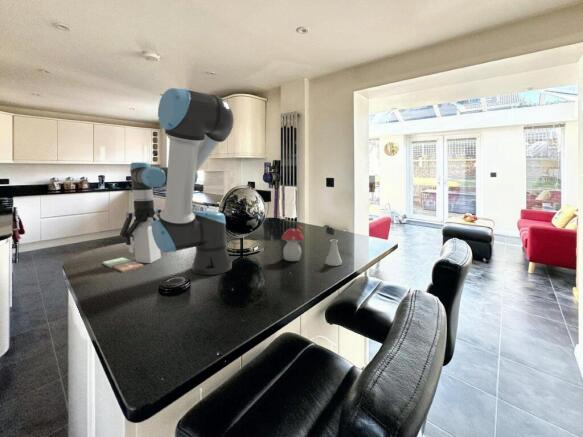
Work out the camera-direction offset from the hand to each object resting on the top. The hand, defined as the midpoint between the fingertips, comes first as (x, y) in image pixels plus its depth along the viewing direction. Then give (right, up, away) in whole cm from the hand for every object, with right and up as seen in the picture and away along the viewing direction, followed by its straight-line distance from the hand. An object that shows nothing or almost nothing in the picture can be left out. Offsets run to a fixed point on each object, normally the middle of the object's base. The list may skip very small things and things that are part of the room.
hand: (147, 248), depth 128 cm
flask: (+80, -6, -4) cm, 80 cm away
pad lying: (-4, -7, -8) cm, 11 cm away
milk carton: (0, -5, +1) cm, 6 cm away
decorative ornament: (+63, -5, +2) cm, 63 cm away
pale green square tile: (-12, -6, -3) cm, 13 cm away
